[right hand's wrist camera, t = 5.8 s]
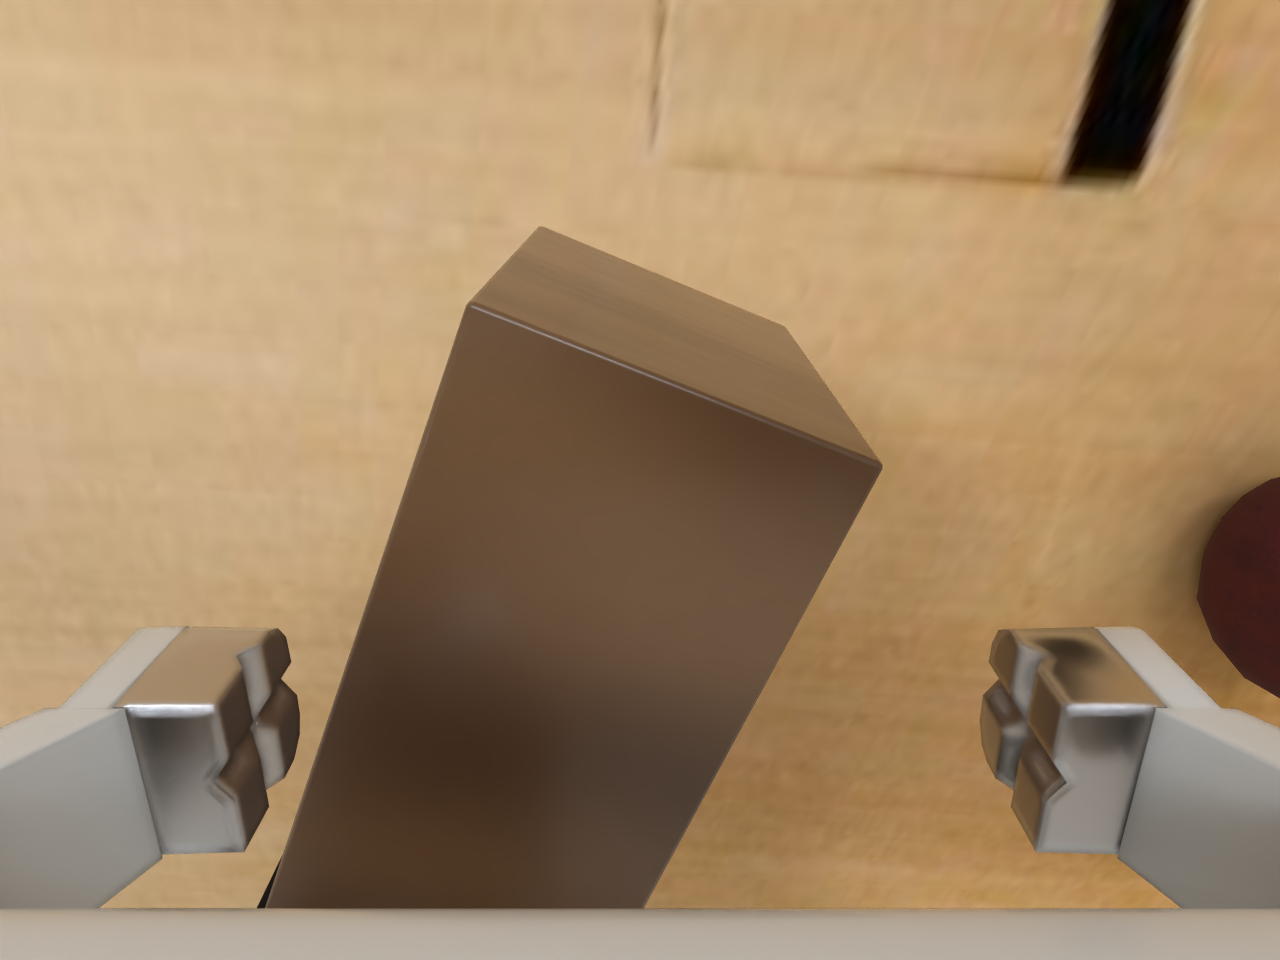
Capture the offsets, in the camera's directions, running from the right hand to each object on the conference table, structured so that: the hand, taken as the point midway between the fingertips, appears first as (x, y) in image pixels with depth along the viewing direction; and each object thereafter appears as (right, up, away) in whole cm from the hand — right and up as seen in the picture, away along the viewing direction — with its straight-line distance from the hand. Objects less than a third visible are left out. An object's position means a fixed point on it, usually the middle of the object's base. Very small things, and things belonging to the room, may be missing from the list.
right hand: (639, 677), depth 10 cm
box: (-4, -3, +13) cm, 14 cm away
